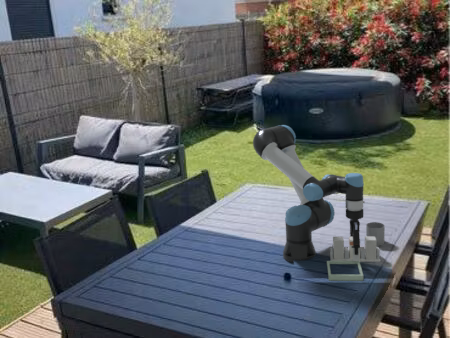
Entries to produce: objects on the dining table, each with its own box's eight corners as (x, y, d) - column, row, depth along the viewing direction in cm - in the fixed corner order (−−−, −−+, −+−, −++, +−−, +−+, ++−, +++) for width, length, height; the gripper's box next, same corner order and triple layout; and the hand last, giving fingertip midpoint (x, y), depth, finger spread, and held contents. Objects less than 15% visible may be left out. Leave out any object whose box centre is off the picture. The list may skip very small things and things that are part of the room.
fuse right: (366, 259, 220) (366, 240, 217) (364, 254, 224) (364, 236, 222) (376, 259, 219) (376, 240, 217) (374, 254, 223) (374, 236, 221)
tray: (328, 280, 206) (328, 275, 205) (326, 266, 219) (326, 260, 218) (363, 281, 203) (363, 275, 203) (359, 266, 217) (359, 260, 216)
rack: (330, 264, 220) (330, 253, 219) (329, 255, 229) (329, 244, 227) (380, 264, 217) (380, 253, 215) (377, 255, 225) (377, 244, 224)
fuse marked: (349, 259, 221) (349, 240, 218) (348, 254, 225) (348, 236, 223) (360, 259, 220) (360, 240, 218) (358, 254, 224) (358, 236, 222)
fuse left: (333, 259, 222) (333, 240, 220) (333, 255, 226) (332, 236, 224) (343, 259, 221) (343, 240, 219) (343, 255, 225) (342, 236, 223)
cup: (364, 247, 236) (364, 227, 233) (368, 240, 243) (368, 221, 240) (382, 249, 232) (382, 229, 229) (385, 242, 239) (386, 223, 236)
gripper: (366, 216, 205) (366, 266, 209) (360, 201, 227) (360, 246, 231) (348, 216, 206) (348, 266, 211) (343, 201, 228) (344, 246, 233)
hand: (354, 256), depth 221 cm, fingers open, 10 cm apart
